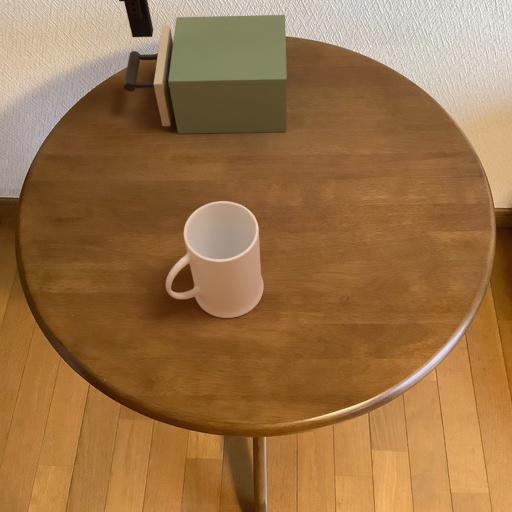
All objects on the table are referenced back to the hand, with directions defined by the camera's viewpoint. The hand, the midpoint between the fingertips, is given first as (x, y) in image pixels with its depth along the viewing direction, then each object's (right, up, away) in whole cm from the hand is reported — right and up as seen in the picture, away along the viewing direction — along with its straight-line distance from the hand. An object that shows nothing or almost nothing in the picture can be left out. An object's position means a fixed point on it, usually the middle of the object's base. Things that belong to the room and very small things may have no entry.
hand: (142, 33), depth 86 cm
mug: (+11, -35, -9) cm, 38 cm away
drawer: (+7, -6, +9) cm, 13 cm away
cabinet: (+12, -7, +10) cm, 17 cm away
